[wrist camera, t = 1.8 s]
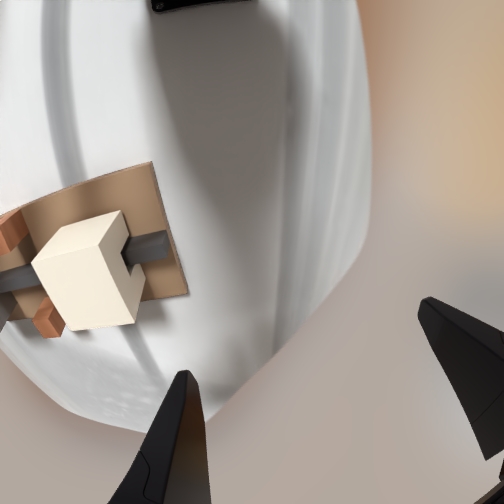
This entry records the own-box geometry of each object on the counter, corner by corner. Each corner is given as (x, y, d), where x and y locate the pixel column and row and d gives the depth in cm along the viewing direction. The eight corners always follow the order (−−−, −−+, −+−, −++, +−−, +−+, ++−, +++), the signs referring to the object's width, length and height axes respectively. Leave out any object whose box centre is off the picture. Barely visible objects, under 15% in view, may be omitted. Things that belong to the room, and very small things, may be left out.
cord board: (151, 161, 16) (128, 189, 11) (187, 285, 22) (185, 342, 17) (-38, 235, 15) (-72, 269, 10) (4, 315, 20) (-17, 355, 15)
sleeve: (120, 210, 16) (97, 244, 12) (145, 278, 19) (135, 323, 15) (60, 227, 16) (30, 262, 12) (89, 289, 19) (70, 331, 15)
